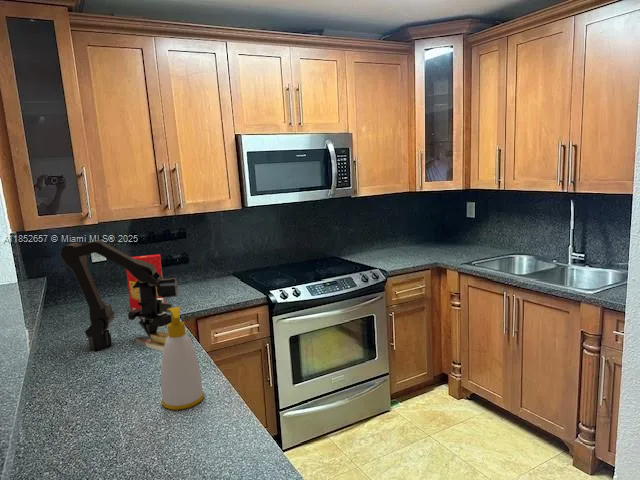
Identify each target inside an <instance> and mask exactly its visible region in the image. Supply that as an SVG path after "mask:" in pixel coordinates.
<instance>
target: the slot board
mask: <svg viewBox="0 0 640 480" xmlns="http://www.w3.org/2000/svg"><path fill="white" fill-rule="evenodd" d="M135 344H136V345H139V346H142V347H145V348H146V347H147V348H150V349H153V350H157V351H162V352H163V349H164V346H162V345H159V344H155V343H151V339H150V338H148V339H145V340H144V339H140V338H137V339H135Z"/></svg>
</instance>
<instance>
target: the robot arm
mask: <svg viewBox="0 0 640 480" xmlns="http://www.w3.org/2000/svg"><path fill="white" fill-rule="evenodd" d="M92 254H98V255H100V256H101V257H103V258H105V259H107V260H108V261H111V262H113V263H114V264H116V265H118V266H120V267H122V268H123V269H125V270H126V269H127V270H128V271H129V272H130V273H131V274H132V275H133V276H134V277H135V278H137V279H138V281H137V282H136V284H135V285H134V286H133V288H139V292H140V302H138V305H140V306H141V308H139V309H136V310H133V311H131V310H130V311H129V312H128V314H127V316H128V320H131V321H135V319H136V318H137V317H138V319H139V321H138V324H139V325H140V326H141V327H142V329H143V330H144V332H145V333H146V335H147V336H148V337H149V339H151V336H150V334H153V333H155V332H158V329H159V328H158V327H162V326H165V325H166V326H168V324H169V323H172V319H171V312H170V311H167V309H168V308H173V307H172V306H173V304H172V303H167V302H165V303H162V300H158V299H157V294H158V295H159V296H161V298H164V297H165V298H173V297H179V284H178V281H177V278H176V277H172V278H171V277H170V278H164V277H163V276H162V277H163V278H162V277H161V276H160V275H159V274H158V273H157V272H156V269H155V266H154V265H153V264H151V263H148V262H145V261H142V260H137V259H134V258H132V257H133V256H130V255H128V254H126V253H124V252H123V251H121V250H120V249H117V248H115V247H113V246H112V245H109V244H108V243H106V242H105V241H103V240H101V239H97V240H94V241H90V242H85V243H79V242H73V243H70V244H67V245H64V246H63V247H62V248H61V249H60V252H59V255H60V257H61V259H62V260H63V262H64V264H65V265H66V266H67V267H68V268H69V269H70V270H71V271H72V272H73V274H74V276H75V279H76V280H77V283H78V285H79V287H80V290H81V292H82V294H83V297H84V299H85V301H86V304H87V306H88V308H89V309H88V310H89V315H88V316H89V321H90V326H88V328H86V330H85V331H84V333H85V335H86V337H87V338H88V339H87V340H88V348H87V350H89V351H93V352H95V353H97V352H101V351H103V350H106V349H109V348H111V347H113V346H114V345H113V343H112V335H111V333H110V330H109V328H110V325H111V324H112V323H113V322H114V319H115V315H116V312H114V310H113V308H112V305H111V304H110V303H109V304H106V303H104V301H103V300H102V297H101V295H100V293H99V290H98V288H97V286H96V284H95V280H94V279H93V276H92V274H91V272H90V269H89V268H88V256H89V255H92ZM87 255H88V256H87ZM156 287H157V292H156ZM163 312H165V314H162V313H163ZM169 313H170V314H169ZM158 314H162V315H158ZM166 326H165V327H166Z"/></svg>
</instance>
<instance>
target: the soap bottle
mask: <svg viewBox="0 0 640 480" xmlns="http://www.w3.org/2000/svg"><path fill="white" fill-rule="evenodd" d="M181 309H182V307H181V306H176V307H175V306H174V307H172V308H168V309H167V311H170V312H171V313H170V315H171V319H172V323H169V324H167V333H168V337H167V339H166V341H165V345H164V349H163V351H162V357H161V375H160V377H161V378H160V379H161V380H160V381H161V382H160V383H161V396H162V397H161V398H162V399H161V404H162V406H163V407H164V408H166V409H168V410H177V411H178V410H184V409H185V410H186V409H188V408H190V407H191V408H192V407H193V406H196V405H197V404H199V403H200V402H201V401H202V400H203V399H204V397H205V391H204V390H203V383H202V375H201V370H200V365H199V364H200V363H199V361H198V355H197V352H196V350H195V346H194V344H193V342H192V339H191V337H190V336H189V335H188V334H187V333H186V326H185V325H186V324H185V321H181V320H180V319H181V318H180V317H181V313H180V312H181Z"/></svg>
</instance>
